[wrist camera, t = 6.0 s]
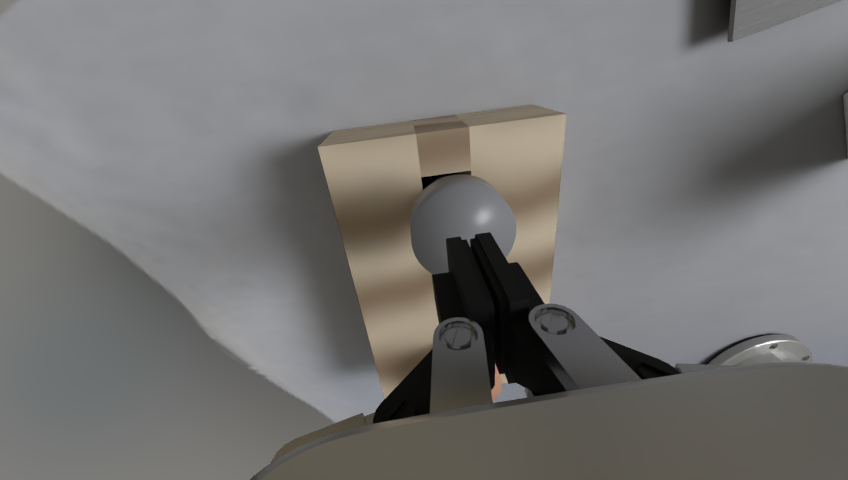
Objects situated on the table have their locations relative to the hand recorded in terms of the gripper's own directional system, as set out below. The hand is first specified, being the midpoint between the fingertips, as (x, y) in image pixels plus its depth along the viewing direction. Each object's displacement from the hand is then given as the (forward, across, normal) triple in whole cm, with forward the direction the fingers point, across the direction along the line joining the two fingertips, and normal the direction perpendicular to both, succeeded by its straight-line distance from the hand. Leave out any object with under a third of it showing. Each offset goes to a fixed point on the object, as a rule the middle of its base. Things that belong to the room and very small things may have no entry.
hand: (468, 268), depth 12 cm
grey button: (+10, -1, 0) cm, 10 cm away
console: (+13, -1, +8) cm, 15 cm away
